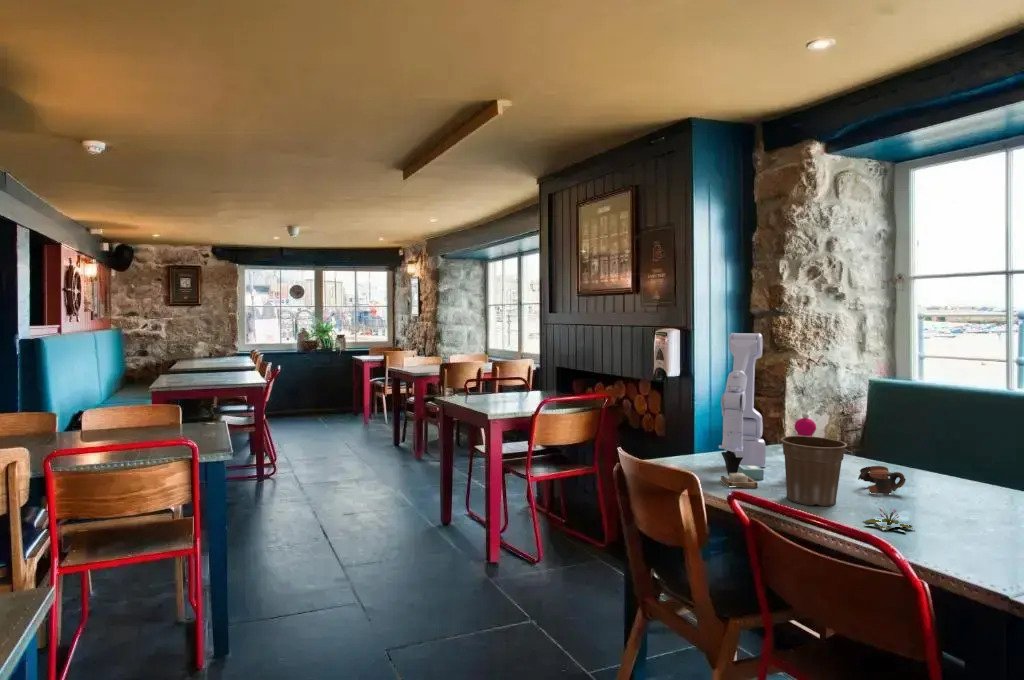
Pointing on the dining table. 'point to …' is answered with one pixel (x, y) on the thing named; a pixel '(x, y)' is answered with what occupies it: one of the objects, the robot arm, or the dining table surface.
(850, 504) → the dining table surface
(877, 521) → the lily flower
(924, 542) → the dining table surface
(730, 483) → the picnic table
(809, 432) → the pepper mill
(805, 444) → the plant pot
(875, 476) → the pottery mug
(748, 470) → the teal toy building
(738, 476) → the stub
